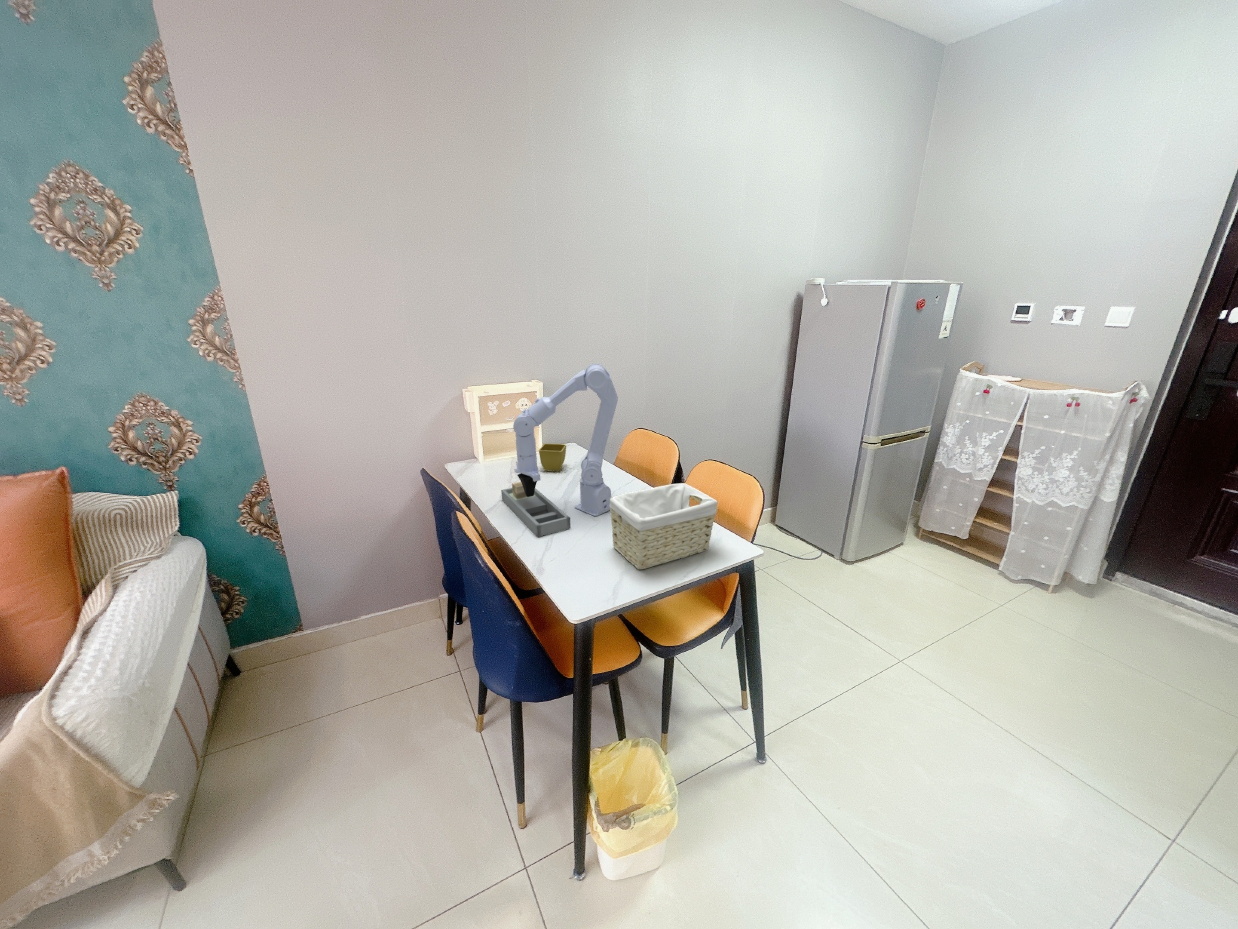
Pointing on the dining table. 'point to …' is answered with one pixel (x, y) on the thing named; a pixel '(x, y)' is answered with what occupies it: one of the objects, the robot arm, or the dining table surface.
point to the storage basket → (661, 524)
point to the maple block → (518, 490)
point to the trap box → (537, 512)
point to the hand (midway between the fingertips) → (529, 495)
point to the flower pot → (552, 456)
